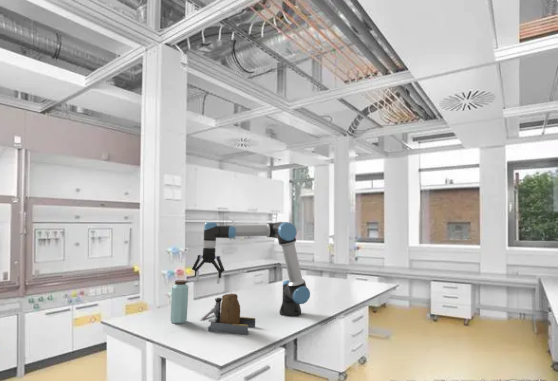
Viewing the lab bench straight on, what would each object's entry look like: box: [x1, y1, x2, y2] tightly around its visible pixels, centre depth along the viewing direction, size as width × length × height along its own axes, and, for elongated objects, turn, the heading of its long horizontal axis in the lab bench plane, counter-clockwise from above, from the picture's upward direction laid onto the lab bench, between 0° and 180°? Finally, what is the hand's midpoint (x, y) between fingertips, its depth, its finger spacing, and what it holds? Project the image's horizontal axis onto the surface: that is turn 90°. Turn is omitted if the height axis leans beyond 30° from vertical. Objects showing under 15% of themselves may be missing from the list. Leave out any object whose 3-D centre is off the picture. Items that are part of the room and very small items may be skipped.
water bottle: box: [170, 279, 189, 325], centre depth 227 cm, size 10×10×25 cm
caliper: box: [200, 304, 216, 321], centre depth 240 cm, size 20×1×6 cm, turn 161°
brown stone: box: [220, 293, 241, 324], centre depth 216 cm, size 11×8×20 cm
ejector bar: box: [208, 297, 222, 323], centre depth 218 cm, size 4×18×17 cm, turn 168°
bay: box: [207, 316, 256, 336], centre depth 215 cm, size 23×16×5 cm
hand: (207, 282), depth 222 cm, fingers open, 13 cm apart
